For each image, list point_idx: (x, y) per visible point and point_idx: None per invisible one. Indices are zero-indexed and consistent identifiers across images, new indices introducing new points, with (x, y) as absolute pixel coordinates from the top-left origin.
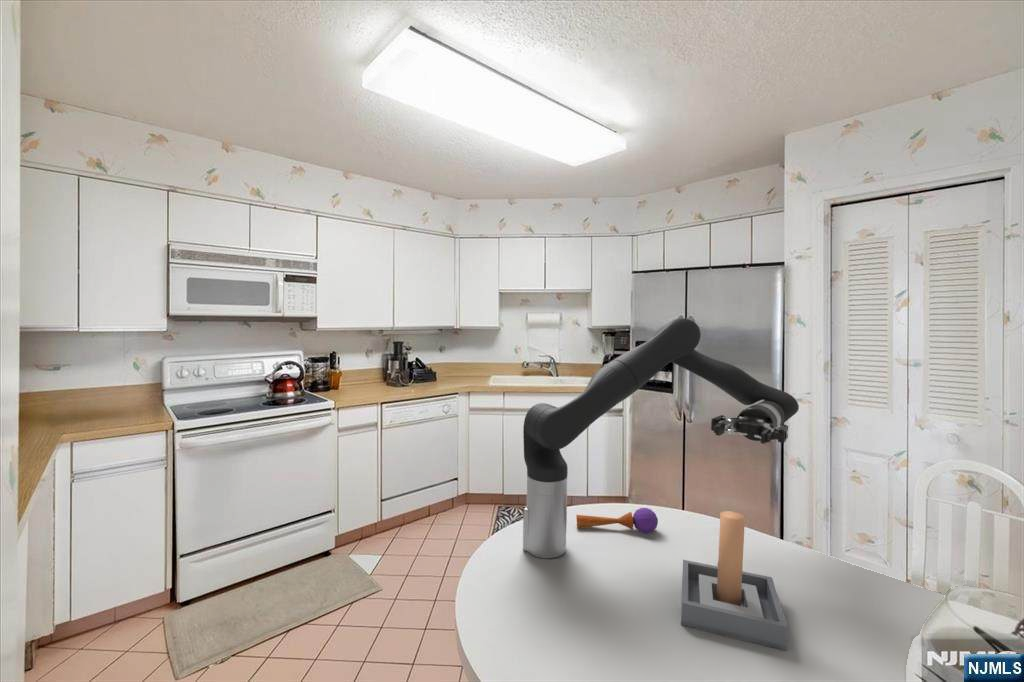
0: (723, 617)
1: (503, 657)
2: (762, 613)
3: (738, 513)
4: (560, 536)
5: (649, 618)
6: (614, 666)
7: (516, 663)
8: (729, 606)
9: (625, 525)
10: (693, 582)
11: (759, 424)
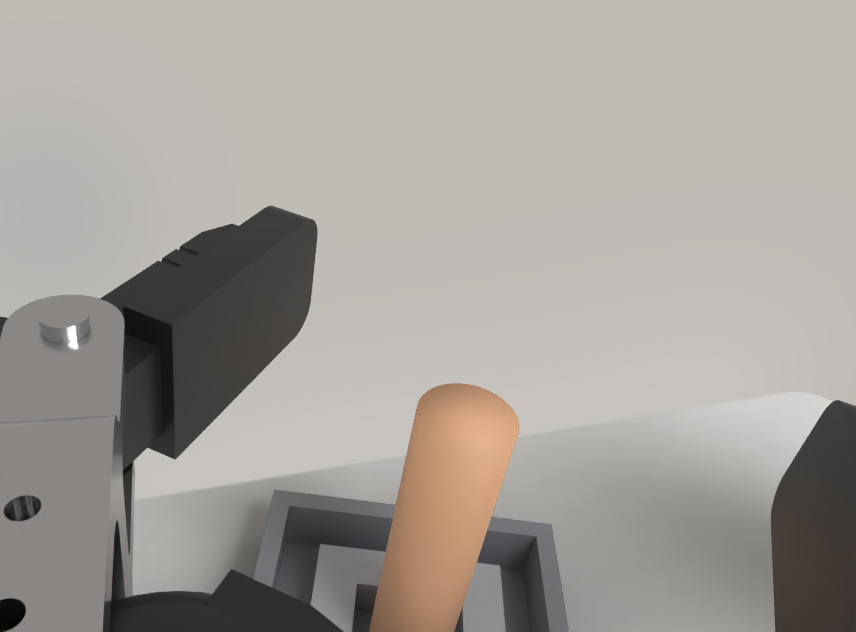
0: None
1: (805, 417)
2: (317, 564)
3: (439, 443)
4: None
5: (616, 573)
6: (632, 431)
7: (778, 411)
8: None
9: None
10: None
11: (107, 618)
